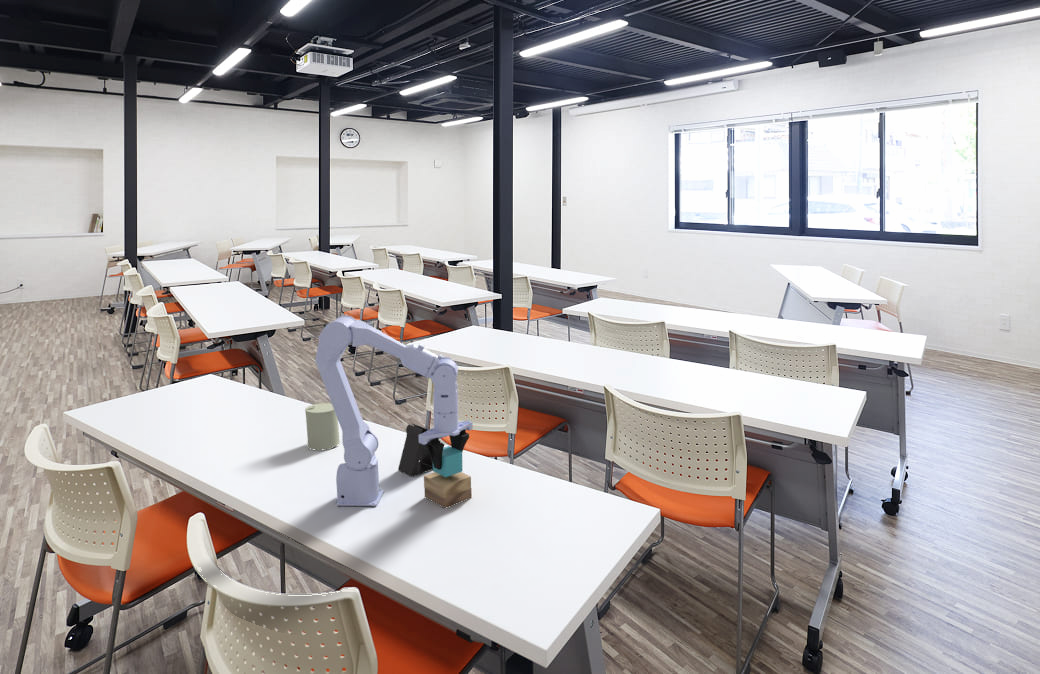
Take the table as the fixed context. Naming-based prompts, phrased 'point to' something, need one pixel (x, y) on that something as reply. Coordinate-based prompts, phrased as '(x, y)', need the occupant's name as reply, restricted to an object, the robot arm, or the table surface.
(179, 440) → the table surface
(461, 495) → the tower base
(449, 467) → the teal cube
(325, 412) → the can
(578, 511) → the table surface
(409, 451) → the phone stand
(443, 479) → the tower top
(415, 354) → the robot arm
